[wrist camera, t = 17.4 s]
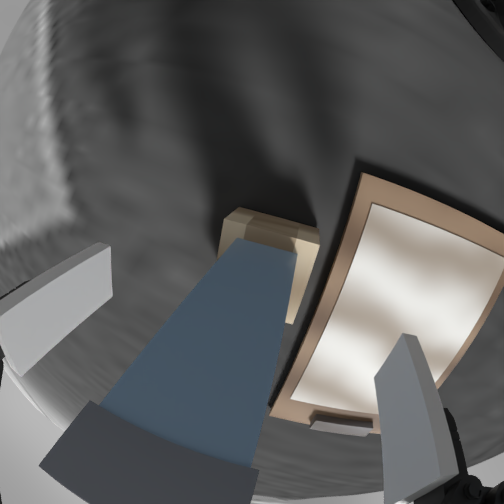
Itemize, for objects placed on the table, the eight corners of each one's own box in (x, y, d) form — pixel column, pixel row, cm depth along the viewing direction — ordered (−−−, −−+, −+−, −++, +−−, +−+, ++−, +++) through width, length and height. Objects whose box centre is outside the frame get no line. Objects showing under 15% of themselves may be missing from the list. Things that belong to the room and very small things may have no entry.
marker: (242, 226, 16) (38, 465, 2) (302, 242, 15) (232, 560, 2) (231, 279, 17) (90, 505, 4) (286, 295, 16) (213, 557, 3)
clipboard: (361, 171, 14) (365, 173, 13) (516, 241, 13) (526, 247, 11) (270, 410, 23) (267, 421, 22) (394, 430, 21) (395, 440, 20)
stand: (239, 207, 17) (224, 218, 14) (318, 228, 16) (319, 245, 13) (225, 277, 19) (210, 299, 16) (296, 298, 18) (292, 324, 15)
